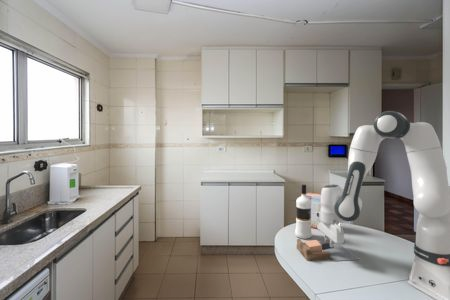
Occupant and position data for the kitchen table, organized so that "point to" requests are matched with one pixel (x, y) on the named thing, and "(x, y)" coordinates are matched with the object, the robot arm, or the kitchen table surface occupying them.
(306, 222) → the vodka
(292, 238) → the kitchen table surface
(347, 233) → the kitchen table surface
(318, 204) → the cracker box
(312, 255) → the brown wooden tray
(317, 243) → the terracotta block
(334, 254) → the grey pad
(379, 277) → the kitchen table surface
